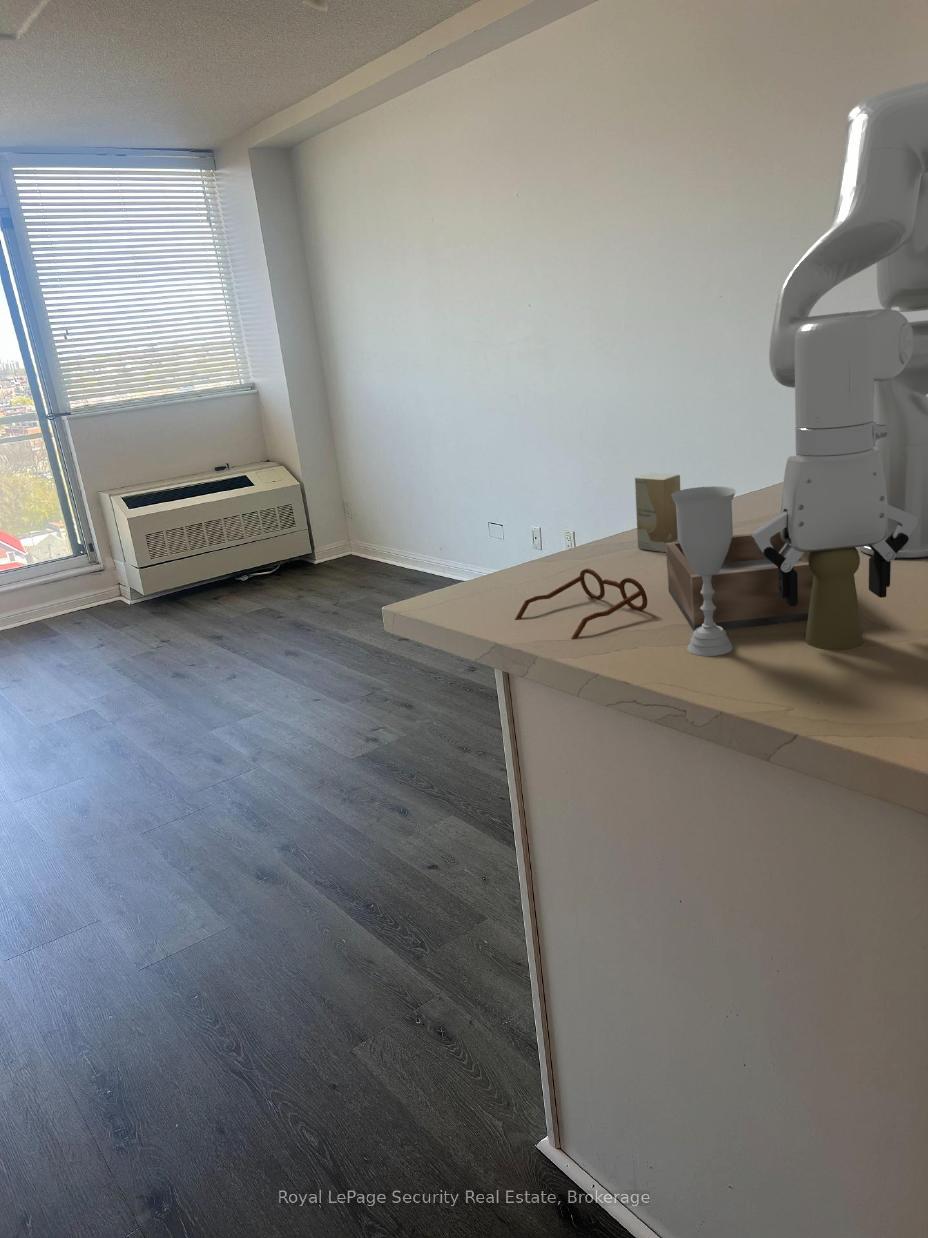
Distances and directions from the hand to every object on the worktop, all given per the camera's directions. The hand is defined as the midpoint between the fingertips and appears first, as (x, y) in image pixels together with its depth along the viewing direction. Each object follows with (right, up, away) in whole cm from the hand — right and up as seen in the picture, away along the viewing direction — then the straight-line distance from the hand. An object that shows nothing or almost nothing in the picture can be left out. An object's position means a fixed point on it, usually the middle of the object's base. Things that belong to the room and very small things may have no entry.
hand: (833, 598), depth 97 cm
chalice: (-13, -6, +4) cm, 14 cm away
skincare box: (-8, +9, +50) cm, 52 cm away
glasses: (-25, -2, +21) cm, 33 cm away
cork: (+1, -5, +2) cm, 5 cm away
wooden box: (-4, 0, +17) cm, 18 cm away
